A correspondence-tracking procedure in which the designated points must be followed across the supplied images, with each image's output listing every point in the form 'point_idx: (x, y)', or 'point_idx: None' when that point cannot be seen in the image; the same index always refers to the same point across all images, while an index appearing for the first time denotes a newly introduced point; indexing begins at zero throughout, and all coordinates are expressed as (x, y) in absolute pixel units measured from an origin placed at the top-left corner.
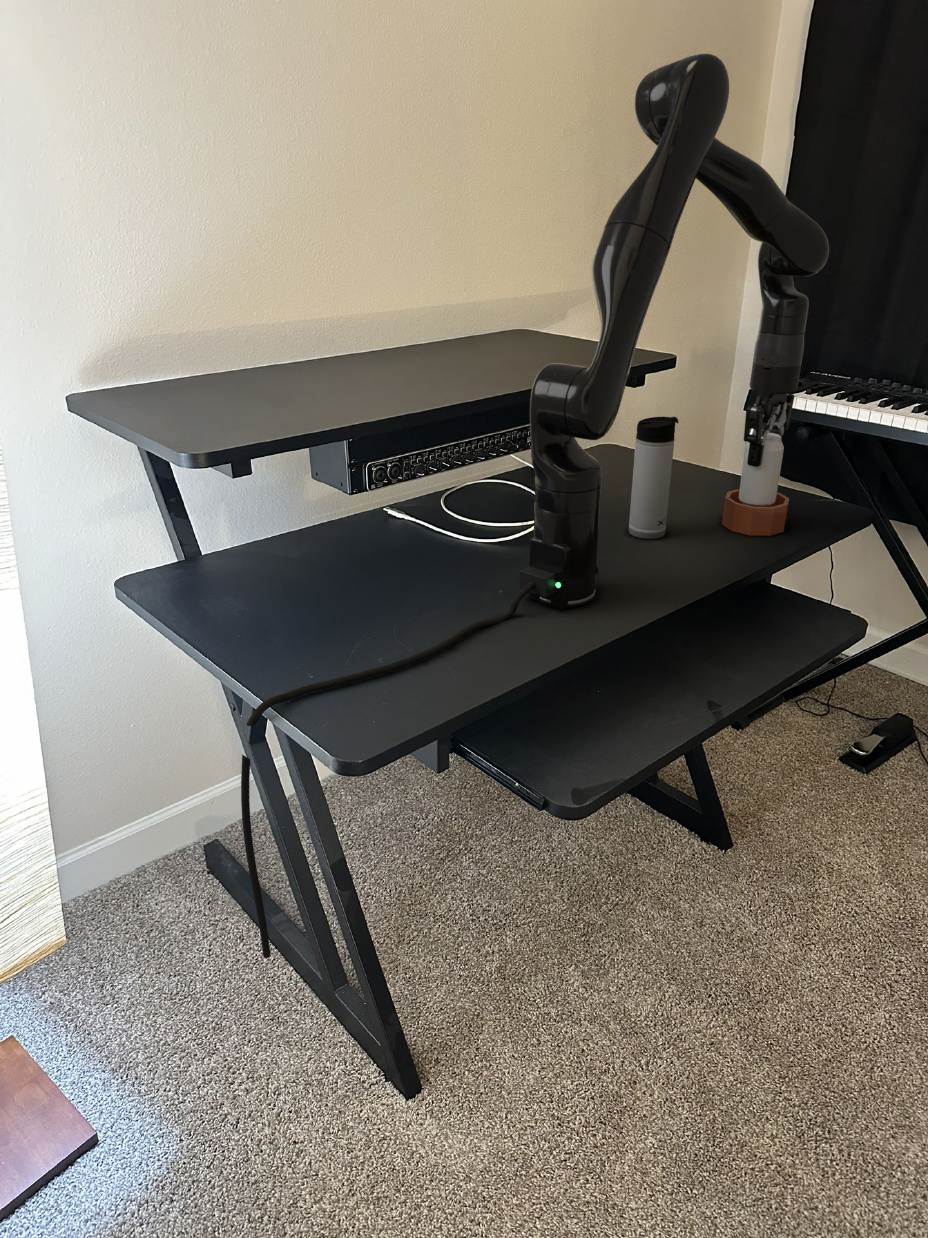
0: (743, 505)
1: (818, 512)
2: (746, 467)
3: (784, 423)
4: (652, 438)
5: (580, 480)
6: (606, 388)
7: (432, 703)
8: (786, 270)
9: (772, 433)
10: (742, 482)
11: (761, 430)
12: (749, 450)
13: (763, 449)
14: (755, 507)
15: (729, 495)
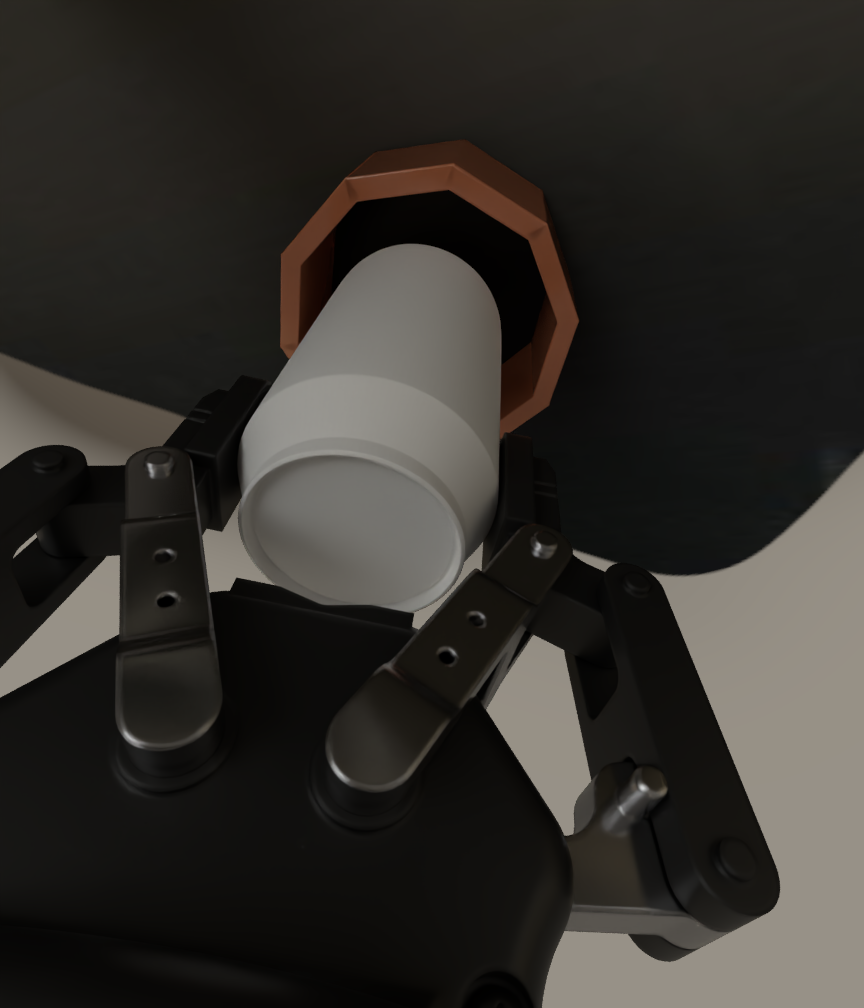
0: (281, 298)
1: (676, 471)
2: (297, 348)
3: (574, 663)
4: None
5: None
6: None
7: None
8: None
9: (456, 568)
10: (334, 295)
11: (49, 609)
12: (208, 422)
13: (232, 509)
14: (288, 352)
15: (390, 191)
